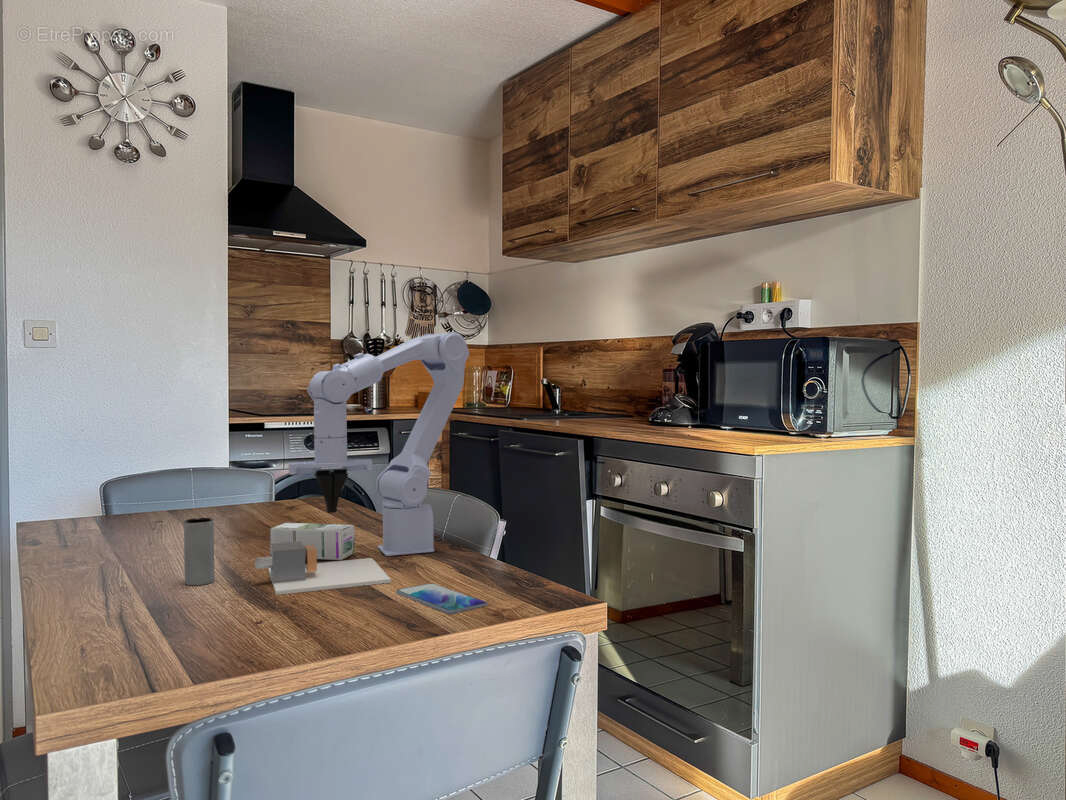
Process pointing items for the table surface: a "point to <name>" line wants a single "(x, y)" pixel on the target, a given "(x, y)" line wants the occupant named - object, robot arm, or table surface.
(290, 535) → the syrup box
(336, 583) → the mounting plate
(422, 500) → the robot arm
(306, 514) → the table surface
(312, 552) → the shaft
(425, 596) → the smartphone
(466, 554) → the table surface
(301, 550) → the bearing block
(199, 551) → the grey cylinder
